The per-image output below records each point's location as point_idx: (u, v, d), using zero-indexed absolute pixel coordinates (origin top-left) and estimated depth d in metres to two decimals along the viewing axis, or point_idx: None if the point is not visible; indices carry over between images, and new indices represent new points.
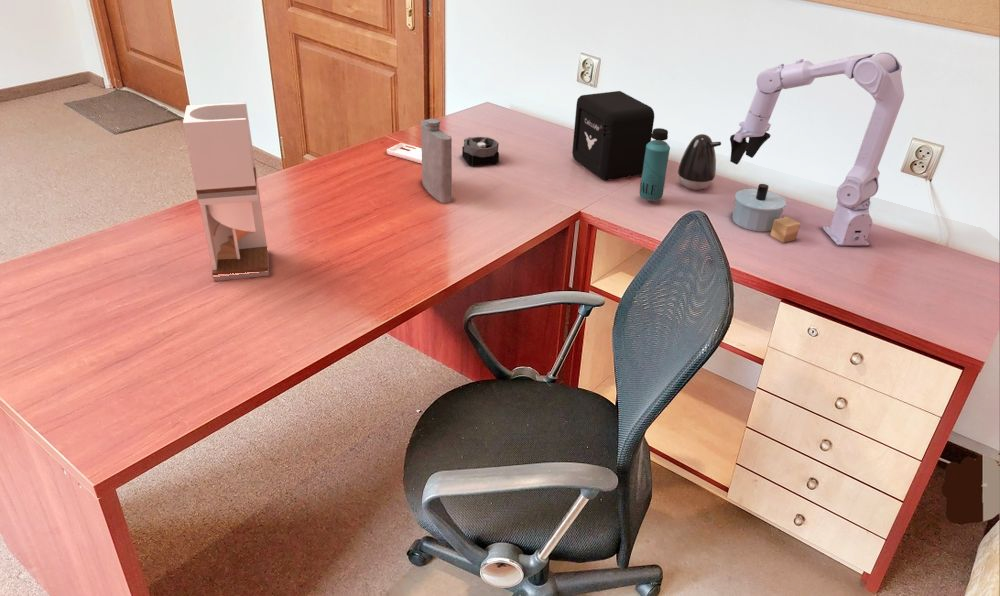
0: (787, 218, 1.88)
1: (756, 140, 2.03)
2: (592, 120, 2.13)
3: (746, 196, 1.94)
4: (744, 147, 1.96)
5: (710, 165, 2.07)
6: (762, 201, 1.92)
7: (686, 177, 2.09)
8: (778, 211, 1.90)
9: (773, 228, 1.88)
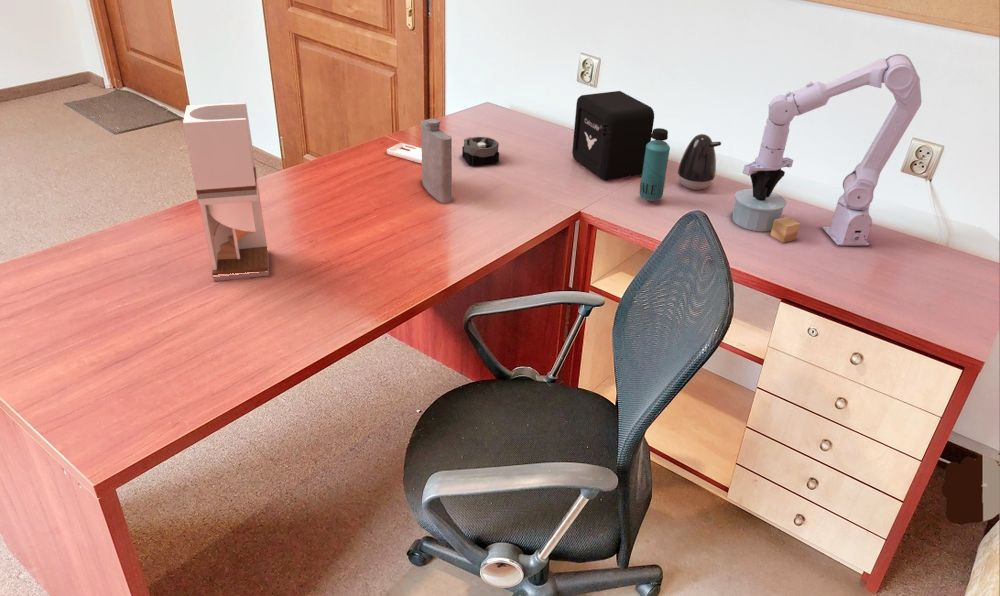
0: (787, 218, 1.88)
1: (770, 178, 1.90)
2: (592, 120, 2.13)
3: (746, 196, 1.94)
4: (761, 179, 1.86)
5: (710, 165, 2.07)
6: (762, 201, 1.92)
7: (686, 177, 2.09)
8: (778, 211, 1.90)
9: (773, 228, 1.88)
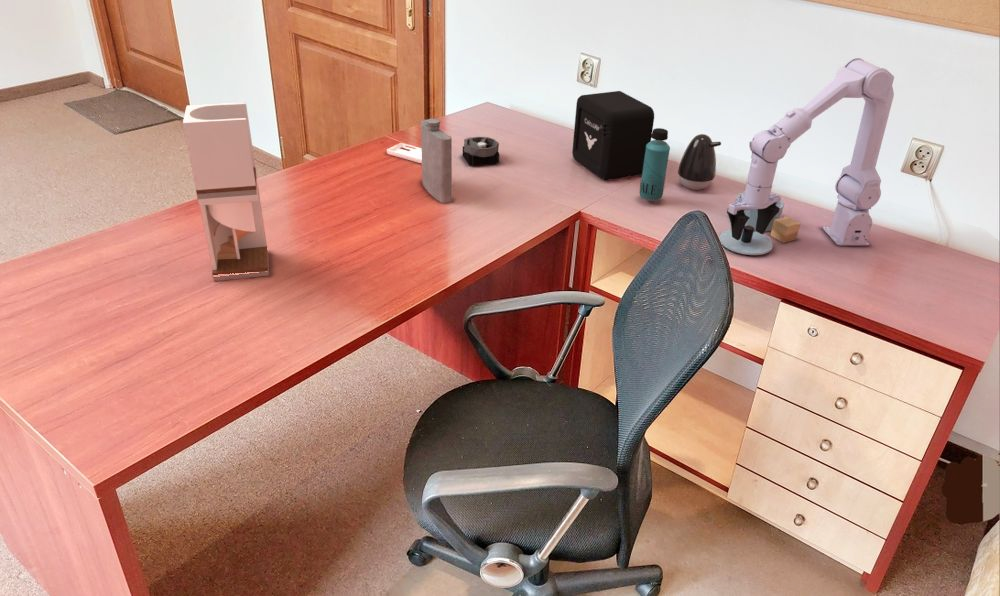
0: (787, 218, 1.88)
1: (764, 214, 1.82)
2: (592, 120, 2.13)
3: (731, 238, 1.85)
4: (740, 220, 1.76)
5: (710, 165, 2.07)
6: (747, 244, 1.83)
7: (686, 177, 2.09)
8: None
9: (773, 228, 1.88)
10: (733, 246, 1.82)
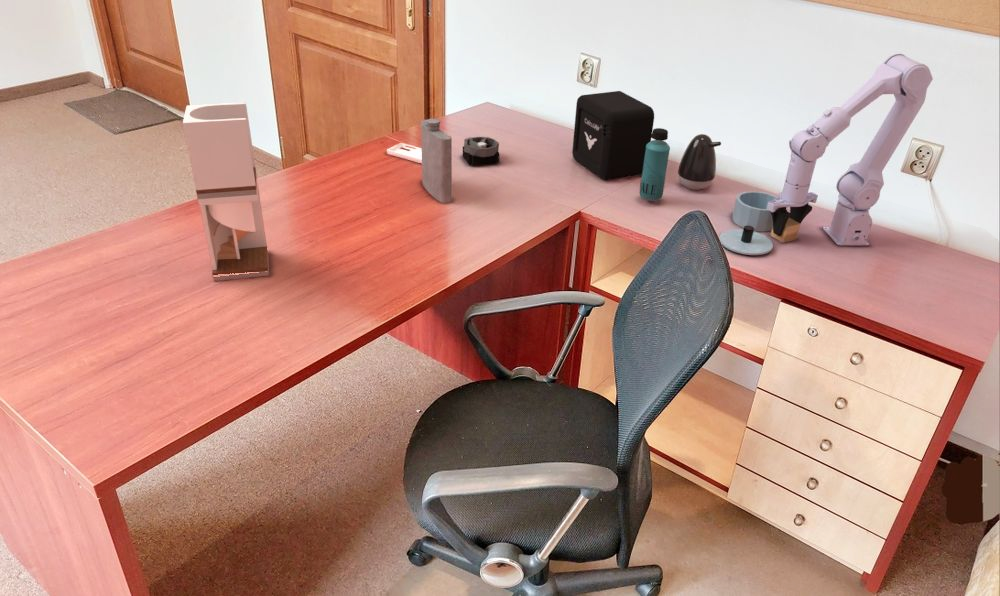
0: None
1: (797, 213, 1.86)
2: (592, 120, 2.13)
3: (731, 238, 1.85)
4: (783, 216, 1.82)
5: (710, 165, 2.07)
6: (747, 244, 1.83)
7: (686, 177, 2.09)
8: None
9: None
10: (733, 246, 1.82)
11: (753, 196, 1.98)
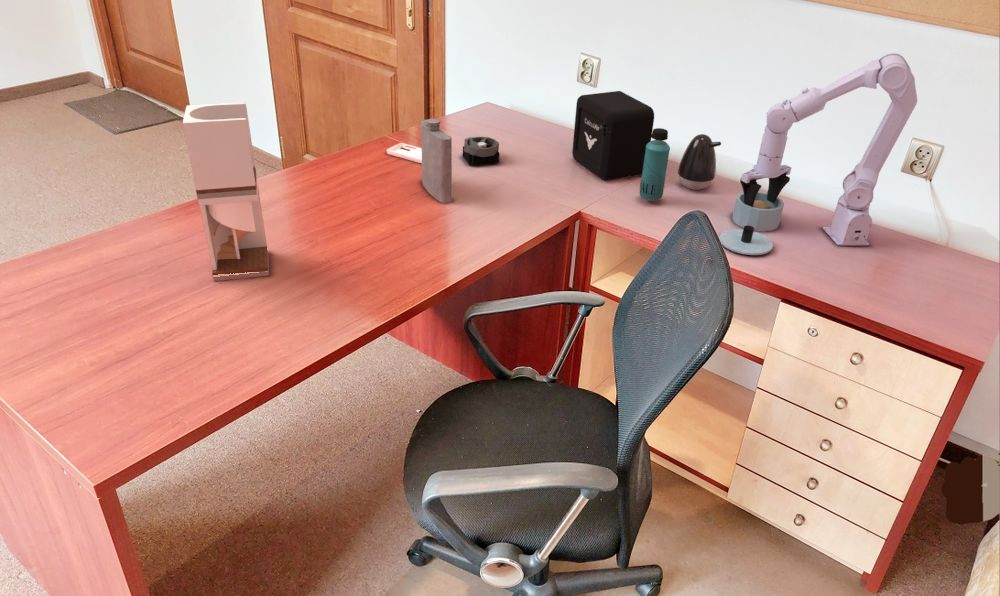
0: (759, 201, 1.95)
1: (775, 184, 1.92)
2: (592, 120, 2.13)
3: (731, 238, 1.85)
4: (753, 188, 1.87)
5: (710, 165, 2.07)
6: (747, 244, 1.83)
7: (686, 177, 2.09)
8: (778, 211, 1.90)
9: None
10: (733, 246, 1.82)
11: None
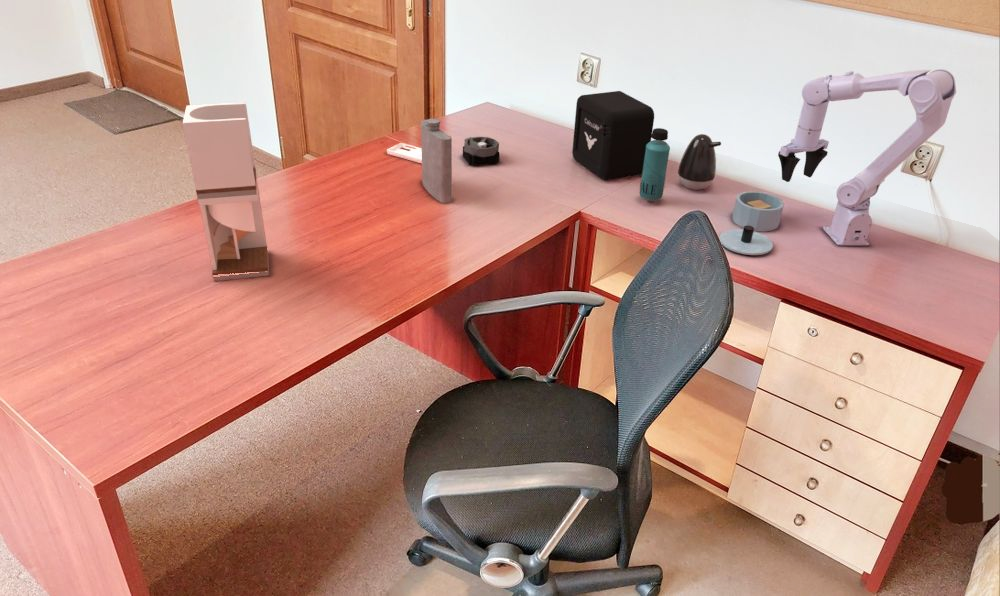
0: (759, 201, 1.95)
1: (812, 158, 1.93)
2: (592, 120, 2.13)
3: (731, 238, 1.85)
4: (791, 161, 1.88)
5: (710, 165, 2.07)
6: (747, 244, 1.83)
7: (686, 177, 2.09)
8: (778, 211, 1.90)
9: None
10: (733, 246, 1.82)
11: (753, 196, 1.98)
